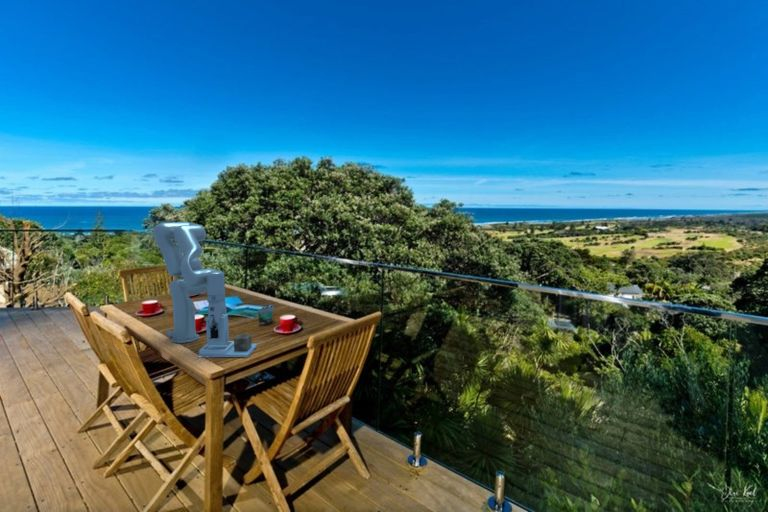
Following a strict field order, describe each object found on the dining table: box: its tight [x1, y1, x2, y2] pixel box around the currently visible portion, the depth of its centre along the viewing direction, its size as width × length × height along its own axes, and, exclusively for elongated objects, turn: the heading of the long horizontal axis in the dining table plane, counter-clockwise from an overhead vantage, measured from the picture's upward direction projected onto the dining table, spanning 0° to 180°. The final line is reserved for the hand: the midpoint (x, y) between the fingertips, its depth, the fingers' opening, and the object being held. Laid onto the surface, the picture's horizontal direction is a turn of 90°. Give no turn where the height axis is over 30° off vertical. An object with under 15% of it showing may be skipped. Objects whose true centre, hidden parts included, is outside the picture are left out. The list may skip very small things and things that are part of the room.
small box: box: [205, 313, 230, 345], centre depth 178 cm, size 8×6×13 cm
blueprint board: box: [197, 340, 258, 358], centre depth 180 cm, size 22×14×3 cm, turn 91°
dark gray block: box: [233, 333, 252, 351], centre depth 179 cm, size 6×6×6 cm
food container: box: [257, 303, 275, 326], centre depth 223 cm, size 12×6×10 cm, turn 168°
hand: (217, 335), depth 179 cm, fingers closed on small box, 6 cm apart
